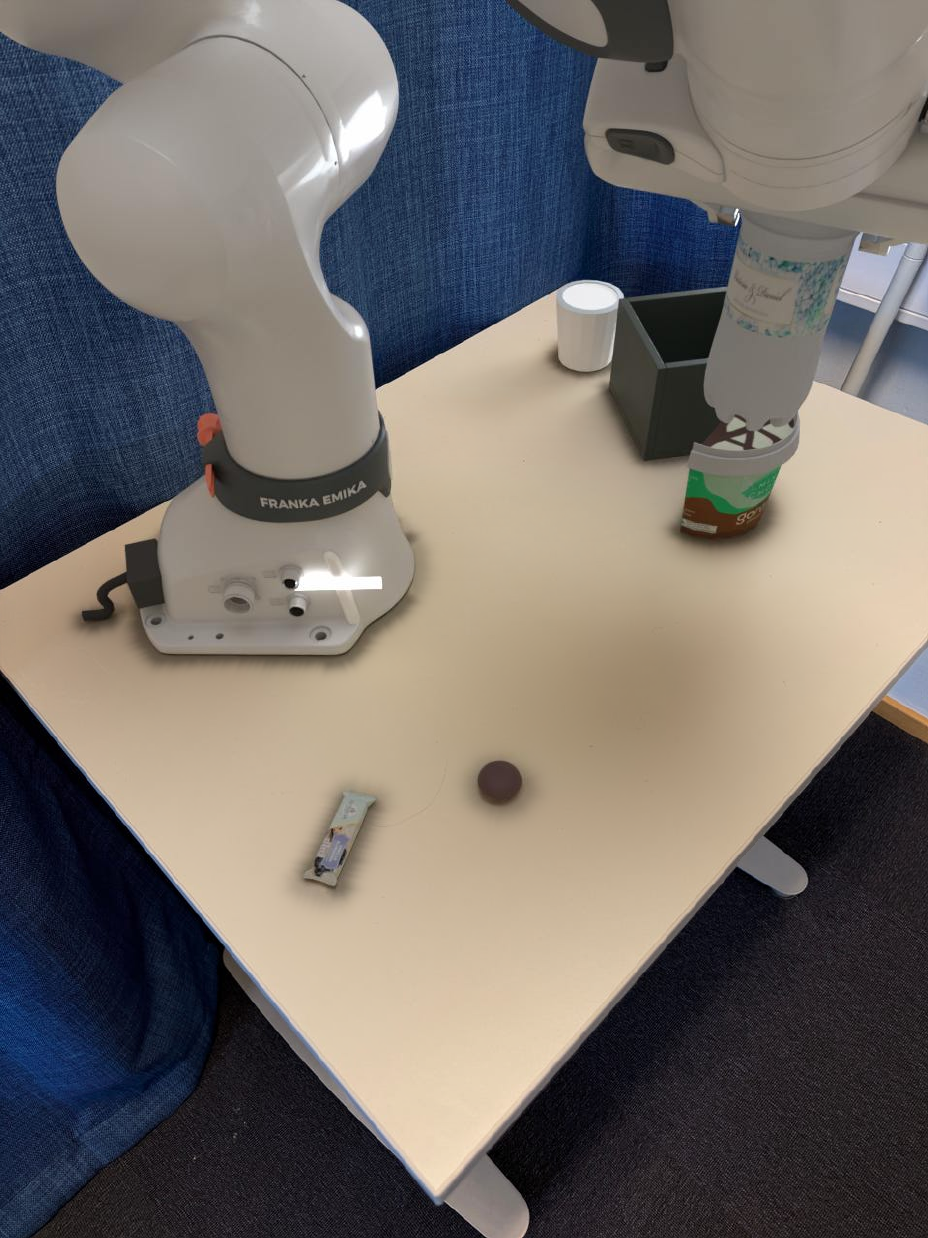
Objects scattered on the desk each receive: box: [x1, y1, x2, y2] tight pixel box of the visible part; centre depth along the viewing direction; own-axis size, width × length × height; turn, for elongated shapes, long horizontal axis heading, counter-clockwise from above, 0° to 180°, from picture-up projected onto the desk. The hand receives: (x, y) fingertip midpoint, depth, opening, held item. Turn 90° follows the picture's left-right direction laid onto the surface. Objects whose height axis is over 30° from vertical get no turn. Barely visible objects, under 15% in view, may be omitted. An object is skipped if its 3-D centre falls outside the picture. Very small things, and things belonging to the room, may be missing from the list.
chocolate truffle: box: [477, 760, 523, 802], centre depth 61 cm, size 3×3×2 cm
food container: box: [679, 411, 801, 540], centre depth 75 cm, size 12×6×10 cm, turn 143°
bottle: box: [704, 209, 862, 431], centre depth 49 cm, size 7×7×20 cm
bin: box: [608, 286, 728, 461], centre depth 85 cm, size 12×12×10 cm
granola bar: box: [302, 789, 377, 887], centre depth 59 cm, size 7×2×1 cm, turn 161°
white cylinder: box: [555, 279, 625, 373], centre depth 94 cm, size 7×7×7 cm
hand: (799, 224), depth 48 cm, fingers closed on bottle, 6 cm apart
